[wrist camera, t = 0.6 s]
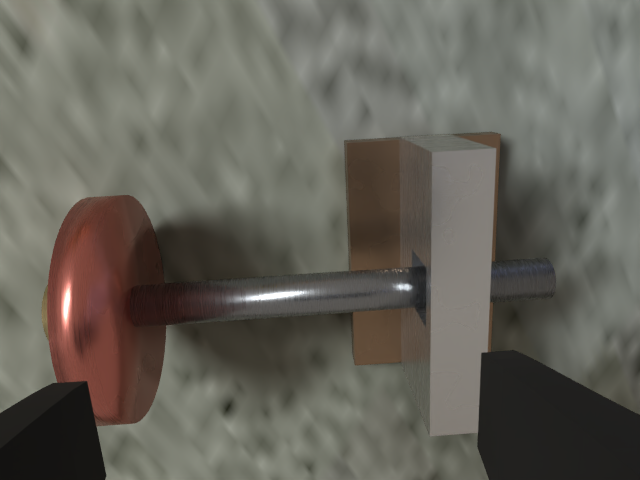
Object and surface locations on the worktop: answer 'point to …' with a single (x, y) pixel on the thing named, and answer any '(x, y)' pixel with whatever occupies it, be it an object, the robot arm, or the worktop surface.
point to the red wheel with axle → (194, 301)
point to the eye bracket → (428, 262)
